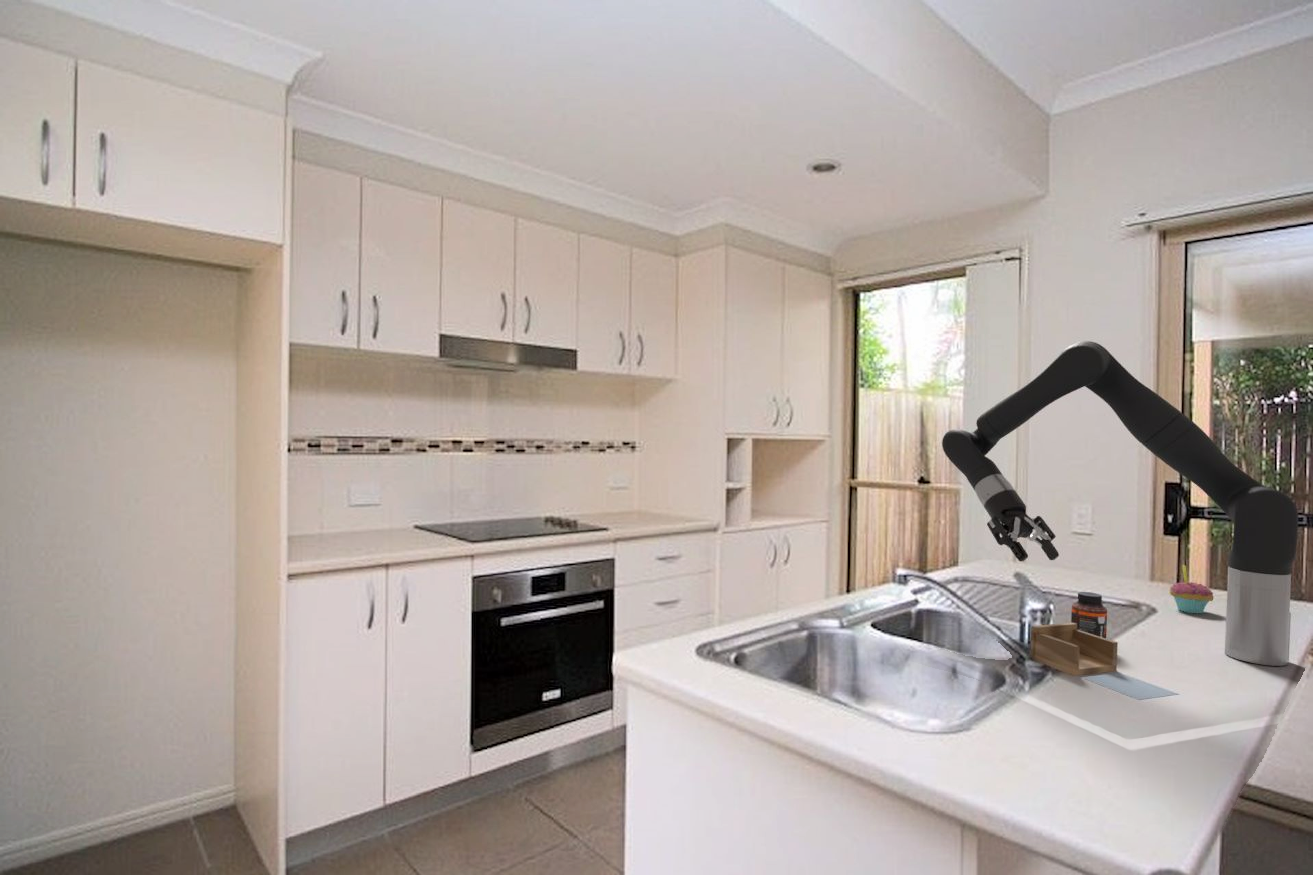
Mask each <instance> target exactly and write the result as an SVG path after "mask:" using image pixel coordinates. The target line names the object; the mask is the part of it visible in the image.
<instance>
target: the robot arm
mask: <svg viewBox="0 0 1313 875" xmlns="http://www.w3.org/2000/svg"><path fill="white" fill-rule="evenodd" d="M1083 387H1085V388H1087V389H1088V390H1089V391H1091V392H1092V393H1093V394H1095V395H1097V397H1099V398H1100V399H1101V400H1103V402H1105V403H1106V404H1107V405H1108V406H1109V407H1110V408H1111V409H1112V411H1113V412H1114V413H1115V414H1116V416H1117V417H1118V418H1119V421H1121V423H1122V424H1123V426H1124V427H1125V428H1126V429H1127V430H1128V432H1130V434H1131V435H1132V436H1133V437H1134V438H1135V439H1136V440H1137V441H1138V442H1139V443H1141V445H1142V446H1144V447H1145V448H1146V449H1147V450H1149V452H1151V453H1152V454H1153V455H1154V456H1156V457H1157V458H1158V459H1160V460H1161V461H1162V462H1164V463H1165V464H1166V465H1167V466H1168V467H1170V468H1171V469H1173V470H1174V471H1176V472H1177V473H1178V474H1180V475H1182V477H1184V478H1185V479H1187V480H1188V481H1190V482H1192V483H1193V484H1194V485H1196V486H1197V487H1198V488H1200V490H1202V491H1203V492H1204V493H1205V494H1206V495H1207V496H1208V498H1210V499H1211V500H1212V502H1214V503H1215V504H1216V505H1217V506H1218V507H1219V508H1220V509H1221V511H1222V512H1224V514H1226V516H1227V517H1228V518H1229V519H1230V521H1232V523H1233V536H1232V546H1231V550H1230V552H1229V554H1228V564H1227V588H1226V589H1227V590H1226V592H1227V593H1226V609H1225V610H1226V612H1225V614H1226V615H1225V632H1224V633H1225V635H1224V654H1225V655H1227V656H1228V657H1231V658H1234V659H1236V660H1239V661H1243V662H1248V663H1252V664H1257V665H1263V666H1273V667H1279V666H1280V667H1283V666H1286V665H1288V662H1289V661H1290V644H1291V643H1290V641H1291V620H1292V617H1291V616H1292V613H1291V611H1290V607H1291V589H1292V588H1291V587H1292V586H1291V585H1292V581H1291V580H1292V569H1293V568H1292V566H1293V564H1294V562H1295V558H1296V555H1297V554H1296V553H1297V545H1298V531H1299V513H1298V508H1297V505H1296V504H1295V501H1294V500H1293V499H1292V498H1291V497H1290V496H1289V495H1288V494H1285V493H1283V492H1282V491H1280V490H1276V489H1273V488H1269V487H1267V486H1265V485H1264V484H1262V483H1261V482H1260V481H1258V480H1256V479H1254V477H1251V476H1250V475H1248V474H1247V473H1246V472H1245V471H1243V470H1242V469H1240V468H1239V467H1237V466H1236V464H1234V463H1233V462H1231V460H1229V459H1228V458H1227V456H1226V455H1225V454H1224V453H1223V452H1222V450H1220V449H1219V447H1218V446H1217V444H1216V443H1215V442H1214V441H1213V440H1212V439H1211V437H1209V436H1208V434H1207V433H1206V432H1204V430H1203V429H1202V428H1201V427H1199V426H1198V425H1197V424H1196V423H1195V422H1194V421H1193V420H1191V418H1189V417H1188V416H1186V415H1185V414H1184V413H1183V412H1181V411H1180V410H1179V409H1178V408H1176V407H1175V406H1174V405H1172V404H1171V403H1170V402H1168V401H1167V400H1166V399H1164V398H1163V397H1162V396H1160V395H1159V394H1158V393H1156V392H1155V391H1153V390H1152V389H1150V388H1149V387H1148V386H1146V385H1145V384H1143V383H1142V382H1140V380H1138V379H1137V378H1135V377H1134V376H1133V375H1132V374H1131V373H1130V371H1128V370H1127V368H1125V367H1124V366H1123V365H1122V364H1121V362H1119V361H1118V360H1117V359H1116V358H1115V356H1113V354H1111V352H1109V351H1108V350H1107V349H1106V347H1104V346H1103V345H1101V344H1099V343H1097V342H1094V341H1092V340H1091V341H1090V340H1083V341H1078V342H1076V343H1073V344H1071V345H1069V346H1067V347H1065V349H1064V350H1062V351H1061V352H1060V353H1059V355H1058V356H1057V357H1056V359H1054V361H1052V363H1050V364H1049V365H1048V367H1046V368H1045V369H1044V370H1043V371H1042V372H1041V373H1040V374H1039V375H1037V376H1036V377H1035V378H1034V379H1033V380H1031V381H1030V382H1029V383H1027V384H1026V385H1024V386H1023V387H1022V388H1020V389H1018V390H1017V391H1015V392H1014V393H1012V394H1009V395H1008V396H1007V397H1006V398H1003V399H1002V400H1001V401H999V402H997V403H996V404H995V405H994V406H992V407H991V408H989V409H987V410H986V411H984V412H983V413H982V414H981V415H980V416H979V417H978V418H977V419H976V424H975V425H976V429H975V430H974V431H972V432H969V431H968V430H963V429H958V428H955V429H950V430H949V431H947V432H946V433H945V434H944V435H943V437H942V442H941V444H942V450H943V453H944V454H945V456H946V457H947V458H948V460H949V461H950V462H951V463H952V464H953V465H954V467H956V468H957V469H958V471H959V472H960V473H962V474H963V475H964V476H965V478H966V479H967V482H968V483H969V484H970V486H971V487H972V489H973V491H974V492H975V493H976V497H977V499H978V501H979V502H980V504H981V505H982V507H983V508H984V509H985V511H986V512H987V514H988V515H989V516H990V520H988V522H987V523H986V525H987V527H988V529H989V531H990V532H991V534H992V536H993V538H994V539H995V541H996V543H997V544H998V545H1000V546H1006V548H1009V549H1010V550H1011V551H1010V552H1012V554H1013V555H1014V557H1015V558H1016V559H1017V560H1018V561H1019V562H1025V561H1026V560H1027V559H1028V558H1029V555H1028V553H1027V552H1026V550H1025V548H1024V547H1023V546H1022V543H1021V542H1020V541H1018V540H1019V539H1020V538H1024V539H1027V540H1028V541H1031V542H1035V543H1036V544H1037V545H1039V546H1040V547H1041V549H1042V551H1043V552H1044V554H1045V555H1046V556H1047V558H1048V559H1049V561H1055V560H1056V559H1057V558H1058V557H1059V556H1060V554H1059V551H1058V550H1057V548H1056V547H1055V545H1054V544H1053V543H1052V541H1053V540H1054V539H1055V538H1056V534H1055V533H1054V531H1053V530H1052V529H1051V528H1050V526H1048V524H1047V523H1046V521H1045V520H1044V519H1043V517H1042V516H1040V515H1037V516H1035V518H1031V517H1030V516H1029V515H1028V514H1027V505H1026V504H1025V503H1024V500H1023V499H1022V498H1021V497H1020V495H1019V494H1018V492H1017V491H1016V489H1015V488H1014V487H1013V485H1012V484H1011V483H1010V482H1009V480H1007V478H1006V477H1005V476H1004V474H1003V473H1002V472H1001V470H1000V469H999V467H998V466H997V465H996V463H995V462H994V461H993V460H992V459H990V458H989V457H988V456H986V455H987V454H988V453H989V452H991V450H992V449H993V448H994V447H995V446H996V445H997V444H998V442H999V441H1000V440H1001V439H1002V438H1004V437H1006V436H1007V435H1009V434H1010V433H1012V432H1013V431H1015V430H1017V429H1018V428H1019V427H1021V426H1022V425H1024V424H1025V423H1026V422H1027V421H1029V420H1030V419H1031V418H1033V417H1034V416H1035V415H1037V414H1038V413H1039V412H1041V411H1042V410H1043V409H1045V408H1046V407H1047V406H1049V405H1050V404H1052V403H1054V402H1055V401H1057V400H1059V399H1061V398H1062V397H1065V396H1066V395H1068V394H1071V393H1072V392H1075V391H1077V390H1079V389H1082V388H1083ZM1034 531H1035V532H1034ZM1033 532H1034V533H1033ZM1032 533H1033V534H1032ZM1039 537H1040V538H1041V539H1040V538H1039Z"/></svg>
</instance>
